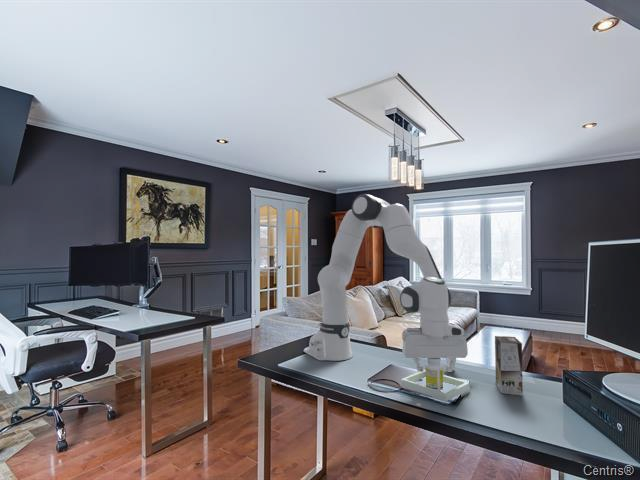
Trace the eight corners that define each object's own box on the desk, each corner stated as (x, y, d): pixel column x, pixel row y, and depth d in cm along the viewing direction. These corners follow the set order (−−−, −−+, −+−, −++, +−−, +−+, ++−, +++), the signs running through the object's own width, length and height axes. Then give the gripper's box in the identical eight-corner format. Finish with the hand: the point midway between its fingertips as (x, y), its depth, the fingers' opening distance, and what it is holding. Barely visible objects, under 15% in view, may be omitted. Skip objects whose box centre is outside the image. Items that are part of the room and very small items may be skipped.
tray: (401, 388, 111) (401, 379, 112) (425, 377, 120) (425, 369, 121) (446, 405, 99) (446, 394, 99) (469, 392, 108) (469, 382, 108)
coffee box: (523, 396, 105) (522, 343, 106) (500, 393, 107) (499, 341, 108) (516, 385, 114) (515, 336, 115) (495, 382, 116) (494, 335, 116)
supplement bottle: (438, 384, 113) (438, 354, 113) (446, 391, 108) (446, 359, 108) (422, 385, 112) (422, 355, 113) (430, 392, 107) (429, 360, 107)
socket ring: (362, 384, 115) (362, 383, 115) (382, 376, 122) (382, 376, 122) (387, 395, 106) (387, 394, 106) (408, 386, 113) (408, 385, 113)
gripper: (404, 330, 107) (404, 374, 107) (469, 330, 107) (470, 374, 107) (399, 325, 114) (400, 367, 113) (461, 325, 114) (461, 367, 113)
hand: (434, 371), depth 110 cm, fingers open, 8 cm apart
